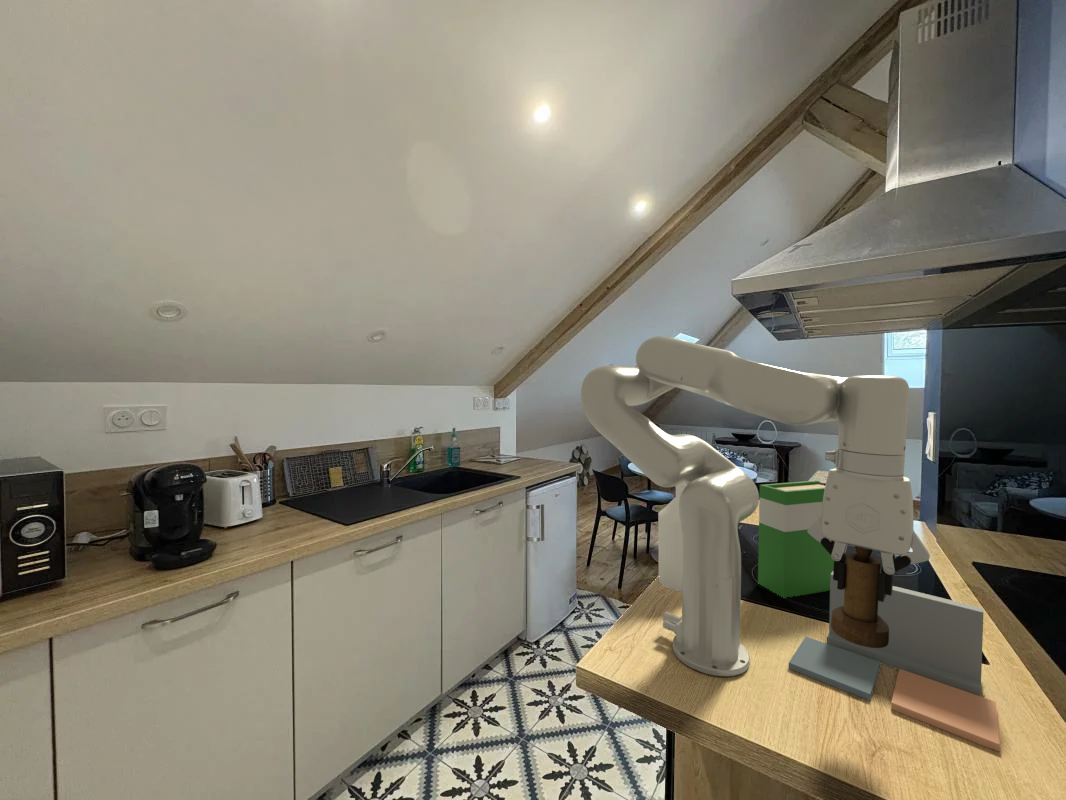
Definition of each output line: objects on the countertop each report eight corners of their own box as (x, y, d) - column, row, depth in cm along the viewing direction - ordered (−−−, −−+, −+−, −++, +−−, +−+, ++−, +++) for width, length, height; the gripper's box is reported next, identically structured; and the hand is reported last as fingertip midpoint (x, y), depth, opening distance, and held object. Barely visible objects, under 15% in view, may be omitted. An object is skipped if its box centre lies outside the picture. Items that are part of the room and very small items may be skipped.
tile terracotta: (891, 709, 65) (891, 702, 65) (899, 674, 73) (899, 668, 73) (999, 752, 58) (999, 744, 58) (995, 708, 66) (995, 701, 66)
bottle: (684, 597, 100) (686, 486, 99) (647, 577, 110) (648, 477, 110) (720, 586, 106) (721, 481, 105) (681, 568, 116) (682, 472, 115)
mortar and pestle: (824, 632, 64) (831, 508, 63) (838, 617, 68) (844, 500, 67) (882, 654, 59) (891, 520, 58) (893, 636, 63) (901, 511, 62)
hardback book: (814, 575, 112) (816, 480, 111) (842, 588, 105) (845, 486, 104) (757, 584, 107) (759, 484, 106) (783, 598, 100) (785, 491, 99)
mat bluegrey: (788, 668, 75) (788, 662, 75) (805, 641, 83) (805, 636, 83) (869, 700, 67) (870, 694, 67) (880, 667, 75) (880, 662, 75)
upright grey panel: (826, 644, 82) (828, 577, 81) (833, 632, 86) (835, 568, 86) (981, 698, 68) (983, 617, 67) (980, 679, 72) (982, 603, 72)
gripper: (794, 458, 65) (788, 580, 66) (950, 478, 54) (939, 626, 55) (807, 453, 71) (801, 566, 72) (951, 470, 59) (942, 605, 60)
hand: (861, 591), depth 63 cm, fingers closed on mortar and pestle, 3 cm apart
